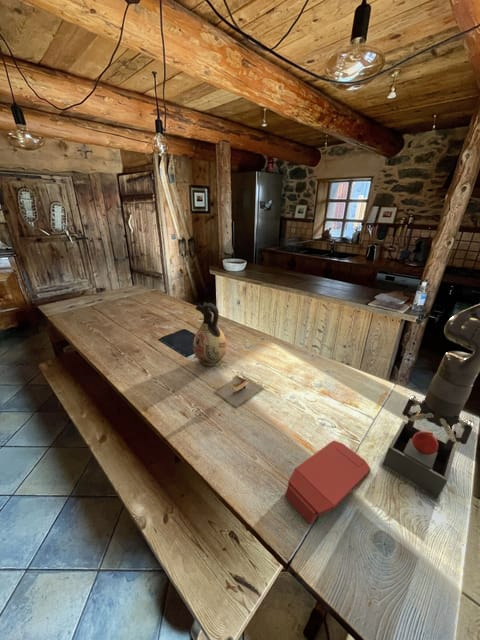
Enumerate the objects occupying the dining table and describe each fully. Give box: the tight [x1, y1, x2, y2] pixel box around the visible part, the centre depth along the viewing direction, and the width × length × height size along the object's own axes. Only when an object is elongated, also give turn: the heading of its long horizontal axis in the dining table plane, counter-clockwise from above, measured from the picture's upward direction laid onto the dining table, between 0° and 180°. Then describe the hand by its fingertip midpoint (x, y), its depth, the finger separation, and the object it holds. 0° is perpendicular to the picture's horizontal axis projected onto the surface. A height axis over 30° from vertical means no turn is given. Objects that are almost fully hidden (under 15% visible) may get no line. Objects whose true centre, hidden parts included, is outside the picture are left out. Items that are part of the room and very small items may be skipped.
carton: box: [284, 439, 372, 525], centre depth 73 cm, size 12×5×25 cm
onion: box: [412, 430, 438, 455], centre depth 73 cm, size 6×6×8 cm
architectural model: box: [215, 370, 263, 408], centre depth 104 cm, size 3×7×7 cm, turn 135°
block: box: [403, 438, 438, 470], centre depth 76 cm, size 7×7×5 cm
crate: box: [382, 420, 457, 499], centre depth 76 cm, size 14×14×8 cm
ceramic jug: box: [192, 302, 228, 367], centre depth 117 cm, size 17×15×30 cm
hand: (427, 438), depth 73 cm, fingers open, 8 cm apart
